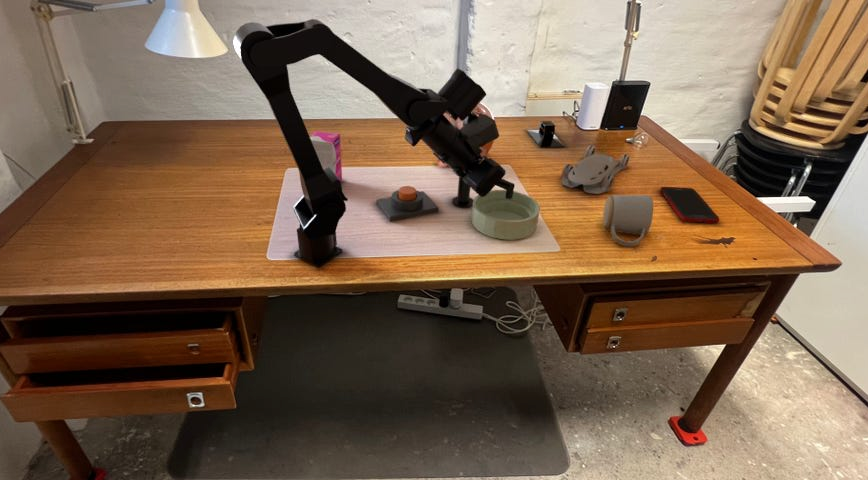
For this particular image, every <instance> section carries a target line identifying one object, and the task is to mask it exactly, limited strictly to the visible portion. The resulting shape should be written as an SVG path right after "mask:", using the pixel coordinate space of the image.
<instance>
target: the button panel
mask: <svg viewBox="0 0 868 480" xmlns="http://www.w3.org/2000/svg"><path fill="white" fill-rule="evenodd" d="M391 193H392V194H391V196H388V197H383V198H377V199H376V202H375V203H376V206H377V207H378V208H379V209H380V211H381V212H382V214H383V215H384V216H385V217H386V219H387V221H389V222H395V221H400V220H406V219H410V218H415V217H421V216H425V215H432V214H436V213H439V206H438V205H437V204H436V203H435V201H433V200H432V199H431V198H430V196H428V195H427V193H425V192H424V190H417V189H416V198H415V199H414V200H409V201H406V200H401V199H399V189H397V190H395V191H393V192H391Z"/></svg>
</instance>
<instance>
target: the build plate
mask: <svg viewBox="0 0 868 480" xmlns="http://www.w3.org/2000/svg"><path fill="white" fill-rule="evenodd" d="M555 128H556V124H555V123H554V122H553V121H552V120H541V121H540V124H539V128H538V129H527V130H526V132H527V134H528V135H529V136H530V137H531V138H532V140H533V141H534V142H535V144H537V146H538V148H540V149H549V148H550V149H552V148H553V149H554V148H555V149H556V148H565V147H566V146H565V144H564V143H563V142H562V141H561V140H560V139H559V138H558V136H557V135H556V134H555V131H556V129H555Z"/></svg>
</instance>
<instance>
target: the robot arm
mask: <svg viewBox="0 0 868 480" xmlns="http://www.w3.org/2000/svg"><path fill="white" fill-rule="evenodd" d="M233 46H234V50H235V52H236V54H237V56H238V58H239V59H240V61H241V62H242V64H243V66H244V67H245V69H246V70H247V72H248V73H249V74H250V76H251V78H252V79H253V81H254V82H255V83H256V85H257V86H258V88H259V89H260V91H261V92H262V94H263V95H264V97H265V99H266V101H267V103H268V105H269V108H270V110H271V112H272V115H273V117H274V118H275V121H276V123H277V125H278V128H279V130H280V133H281V134H282V136H283V138H284V141H285V143H286V145H287V147H288V149H289V152H290V155H291V156H292V159H293V160H294V164H295V165H296V167H297V169H298V173H299V181H300V187H301V190H302V196H301V197H300V198H299V199H298V200H297V202H296V203H295V204H294V205H293V206H292V210H293V212H294V215H295V216H296V218H297V220H298V223H299V225H298V228H296V236H297V242H298V250H296V251H294V253H293V257H295V258H297V259H300V260H301V261H304V262H306V263H308V264H310V265H312V266H314V267H316V268H321V267H324V265H326V264H327V263H329V262H330V261H332V260H334V259H335V258H336V257H338V256H339V255H341V254H342V253H343V249H342V248H340V247H338V245H337V244H338V242H337V228H338V225H339V222H340V220H341V218H343V216H344V215H345V213H346V212H347V205H346V202H348V201H349V199H348V197H347V196H346V194H345V193H344V192H343V187H342V182H340V180H339V178H338V177H337V176H336V174H335V173H334V171H333V170H332V168H331V167H330V166H329V167H328V168H326V169H325V170H323V168H322V165H321V163H320V160H319V158H318V156H317V153H316V151H315V148H314V146H313V144H312V141H311V139H310V137H311V136H310V134H309V131H308V129H307V127H306V124H305V122H304V119H303V118H302V114H301V113H300V112H301V111H300V110H299V107H298V105H297V103H296V100H295V98H294V95H293V93H292V90H291V85H290V84H291V83H290V75H289V69H288V66H289V65H293V64H296V63H298V62H301V61H303V60H306V59H308V58H311V57H313V56H317V55H320V56H321V57H323V58H324V59H325V60H327V61H328V62H330V63H331V64H332V65H334V66H335V67H337V68H338V69H340V70H341V71H342V72H344V74H347V76H349V77H351V78H352V79H354V81H356V82H358V83H359V84H361V85H362V86H363V87H365V88H366V89H368V91H370V92H372V93H373V94H374V95H375V96H376V97H377V98H378V99H379V100H380V102H381V103H382V104H383V105H384V106H385V107H386V108H387V109H388V110H389V111H390V112H391V113H392V114H393V115H394V116H395V117H396V118H398V119H399V120H400V121H401V122H402V123H404V125H406V126H405V127H404V128H405V134H404V140H405V141H406V142H408V144H410V145H411V146H412V147H416V146H417V144H419V143H420V141H422V142H423V143H424V144H425V145H426V146H427V147H428V148H429V149H430V150H431V151H432V155H433V156H435V157H436V158H437V160H438V159H439V160H440V161H441V162H442V163H444V164H445V163H446V164H447V165H448V166H447V167H449V168H450V169H451V170H452V173H454V174H455V175H456V176H457V177H458V178H459V177H461V178H463V179H462V180H463V181H464V182H465V183H467V185H469V186H470V189H471V190H472V191H474V192H475V193H476V194H477V196H478V195H479V196H481V197H485V196H486V195H487V194H488V193H489V192H490V191H491V190H494V188H495V187H496V184H497V183H498V182H499V181H500V180H501V179H504V177H505V176H506V173H507V170H506V169H505V168H504V167H502V165H501V164H500V163H498V162H497V161H495V160H494V159H493V158H492V157H487V156H483V157H482V156H481V155H480V154H481V152H482V150H481V149H480V148H479V147H482V146H484V145H486V144H487V143H489V142H490V141H492V140H494V141H496V140H497V139H498V138H499V137H500V133H499V129H498V125H497V123H496V119H495V118H494V119H492V118H491V117H489V116H487V115H485V114H483V115H482V114H481V113H479V116H477V115H476V114H475V113H473V112H472V111H473V110H474V108H475V107H476V106H477V105H478V104H479V103H482V101H483V100H484V98H486V96H487V93H486V91H485V90H484V88H483V87H482V86H481V84H478V83H477V82H476V81H474V80H473V78H471V77H470V76H469V75H468V74H467V73H466V72H465V71H464V70H463V69H461V68H456V69H455V70H454V72H453V73H452V74H451V76H450V78H448V80H447V81H446V82H445V84H444V85H443V86H442V87H441V88H440V89H439V90H438V92H436V91H434V90H433V89H431V88H421V87H420V88H418V87H416V86H415V85H413V84H412V83H410V82H409V81H406V80H404V79H402V78H400V77H399V76H396V75H393V74H391V73H388V72H387V71H384V70H383V69H382V68H380V67H379V66H378V65H376V63H374V62H372V61H371V60H370V59H368V58H367V57H366V56H364V55H363V54H362V53H361V52H359V51H358V50H356V49H355V48H354V47H353V46H351V45H350V44H349V43H347V41H345V40H343V38H341V37H340V36H338V35H337V34H335V32H333V30H332V29H331V28H330V26H328V25H327V24H325V23H324V22H322V21H321V20H319V19H317V18H316V19H315V18H311V19H308V20H304V21H300V22H286V23H285V22H284V23H275V24H271V25H263V24H261V23H260V22H254V21H251V22H247V23H244V24H243V25H241V26H239V28H238V29H237V30H236V32H235V35H234V37H233ZM445 112H446V113H447V114H448V115H449V116H450V117H451V118H452V119H454V120H455V121H456V120H457V119H458V118H459V119H460V120H461V121H463V124H462V125H463V127H462V128H461V129H460V130H459V129H458V128H457V127H456V126H454V125H453V124H452V123H451V122H450V121H449V120H448V119H447V118H446V117H445V116H444V115H443V114H444V113H445Z"/></svg>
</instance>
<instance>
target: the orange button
mask: <svg viewBox="0 0 868 480" xmlns="http://www.w3.org/2000/svg"><path fill="white" fill-rule="evenodd" d="M398 190H399V199H401V200H406V201H409V200H414V199H415V198H416V190H417V189H416V187H414V186H411V185H404V186H401V187H399V188H398Z"/></svg>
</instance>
